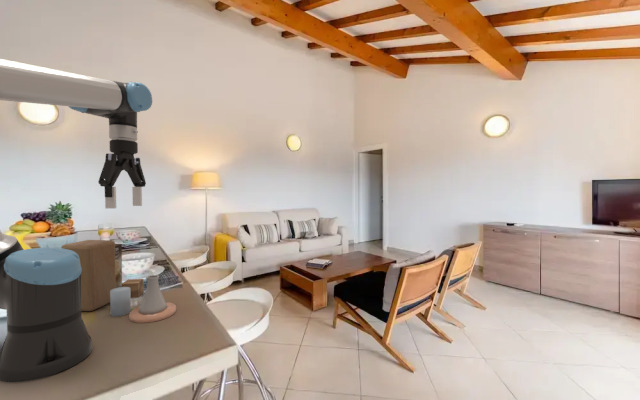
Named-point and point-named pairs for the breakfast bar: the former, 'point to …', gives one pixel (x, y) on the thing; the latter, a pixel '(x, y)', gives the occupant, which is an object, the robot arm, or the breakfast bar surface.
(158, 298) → the flask
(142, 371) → the breakfast bar surface
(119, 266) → the coffee box
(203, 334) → the breakfast bar surface
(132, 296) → the walnut cube
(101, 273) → the block
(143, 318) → the terracotta plate
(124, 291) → the blue-grey cylinder
